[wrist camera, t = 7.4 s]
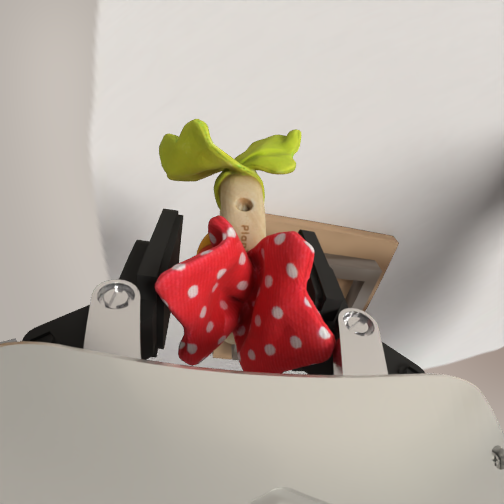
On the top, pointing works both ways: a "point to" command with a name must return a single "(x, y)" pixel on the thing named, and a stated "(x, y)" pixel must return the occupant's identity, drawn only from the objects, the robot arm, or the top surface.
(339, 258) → the wooden tray
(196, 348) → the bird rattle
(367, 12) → the top surface
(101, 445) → the robot arm
